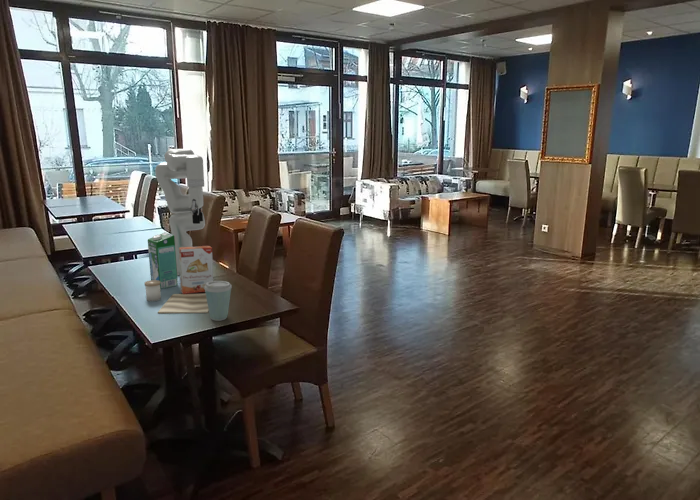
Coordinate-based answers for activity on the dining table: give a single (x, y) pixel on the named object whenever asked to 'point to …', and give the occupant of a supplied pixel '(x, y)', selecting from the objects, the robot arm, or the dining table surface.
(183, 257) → the cracker box
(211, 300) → the disposable coffee cup
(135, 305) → the dining table surface
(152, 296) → the tan and white mushroom
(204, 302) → the beech board
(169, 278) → the milk carton
